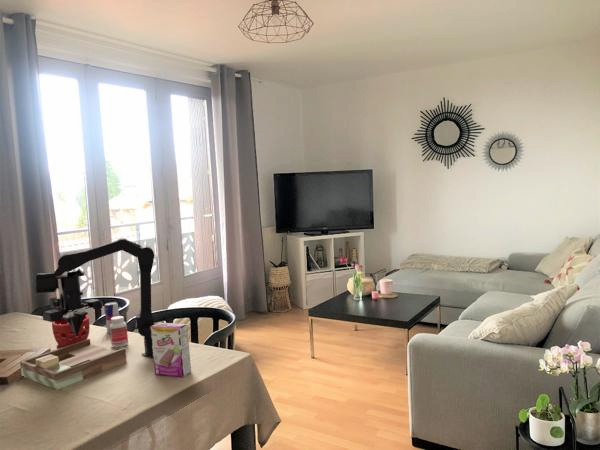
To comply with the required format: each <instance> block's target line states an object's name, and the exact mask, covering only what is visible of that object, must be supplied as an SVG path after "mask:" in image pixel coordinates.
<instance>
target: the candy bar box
mask: <svg viewBox="0 0 600 450" xmlns="http://www.w3.org/2000/svg"><path fill="white" fill-rule="evenodd" d="M150 329H151V340H152V349H153V358H152V360H153V369H154V375H155V376H156V375H157V376H166V377H175V378H176V377H177V378H185V377H186V376H187V375H188V374H190V373H191V372H192V365H191V354H190V343H189V341H190V340H189V333H188V330H189V329H188V324H187V323H176V322H175V323H174V322H161V321H160V322H159V321H158V322H156V323H154V325H152V326H151V327H150Z"/></svg>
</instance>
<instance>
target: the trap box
mask: <svg viewBox="0 0 600 450" xmlns="http://www.w3.org/2000/svg"><path fill="white" fill-rule="evenodd" d="M50 354H51V355H54V356H57V357H58V358H59V366H60V369H57V370H54V371H51V370H48V369H45V368H42V367H39V366H36V359H38V358H41V357H44V356H47V355H50ZM127 361H128V360H127V352H126V348H125V347H121V348H120V349H118V350H113V349H109V348H105V347H101V346H98V345H94V344H91V339H90V338H87V340H84V341H81V342H78V343H75V344H72V345H69V346H66V347H63V348H60V349H57V348H56V349H55V350H54V349H53V350H51V351H48V352H45V353H42V354H40V355H36V356H33V357H30V358H27V359H24V360H21V361H19V364H20V365H19V366H20V371H21V372H20V373H21V376H22V377H23V376H24V378H25V379H28V378H29V380H31V381H33V382H36V383H38V382H39V384H41V385H44V386H46V387H48V388H51V389H54V390H56V391H58V390H61V389H63V388H66V387H69V386H70V385H74V384H76V383H79V382H81V381H83V380H86V379H89V378H90V377H94V376H97V375H98V374H101V373H103V372H106V371H108V370H110V369H113V368H116V367H118V366H121V365H123V364H126V363H128V362H127Z"/></svg>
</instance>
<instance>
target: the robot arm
mask: <svg viewBox="0 0 600 450" xmlns="http://www.w3.org/2000/svg"><path fill="white" fill-rule="evenodd" d="M121 251H122V252H123V251H124V252H125V253H127V254H129V255H131V256H133V257H136V258H137V263H138V268H139V276H140V277H139V282H140V283H139V284H140V285H139V287H140V289H139V291H140V293H139V294H140V295H139V296H140V304H139V305H140V310H139V313H135V321H136V322H135V329H136V330H137V331H138V334H139V335H140V336H142V337H143V345H144V352H143V353H141V355H142V356H145V357H148V358H152V359H153V349H152V340H151V329H150V327H151V326H152V325H154V324H155V321H154V316H153V313H152V312H153V311H152V269H153V265H154V261H155V252H154V250H153V248H152V247H151V246H149V245H146V244H145V245H141V244H138V243H136V242H133V241H131V240H129V239H127V238H125V237H120V238H118V239H117V240H113V241H111V242H107V243H105V244H101V245H99V246H95V247H92V248H89V249H86V250H77V251H71V252H66V253H64V254H62V255H61V256H60V257H59V259H58V263H57V265H58V267H57V268H55V270H54V272H47V273H43V272H42V273H37V274H36V275H35V276H36V278H35V280H36V281H35V291H36V294H37V295H43V294H50V293H56V292H57V290H58V289H60V288H61V293H60V295H59V298H58V297H51V298H49V299H48V302H49V308H51V309H49V310H46V311H44V312H43V313H42V321H45V322H48V323H49V322H50V323H52V322H54V321H58V320H61V319H62V318H63V319H65V320H66V321H67V322H68V324H69V325H70V327H71V329H72V331H73V332H74V334H75V335H76V334H78V333H79V330H80V327H81V324H82V322H83V320H84V318H85V316H86V315H87V316H88V315H89V312H87V311H86V310H88V309H91V308H92V309H93V310H95V311H96V310H99V309H102V308H103V301H102V300H100V299H96V298H91V299H87V300H84V301H83V300H82V296H83V295H84V292H83V291H81V283H80V277H83V276H85V271H83V270H81V269H80V267H81V266H83V265H85V264H86V263H88V262H91V261H94V260H97V259H100V258H102V257H106V256H108V255H109V256H110V255H112V254H114V253H118V252H121ZM73 270H74V271H73ZM75 270H76V271H75ZM65 273H66V274H65ZM64 274H65V275H64ZM60 284H61V285H60ZM60 286H61V287H60Z"/></svg>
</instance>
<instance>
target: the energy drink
mask: <svg viewBox="0 0 600 450" xmlns="http://www.w3.org/2000/svg"><path fill="white" fill-rule="evenodd" d="M104 313H105V315H104V316H105V323H106V324H105V325H106V331H107V333H110V325H111V324H112V322H111V318H112V317H116V316H120V311H119V304H118V302H117V301H111V302H107V303H105V304H104Z"/></svg>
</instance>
